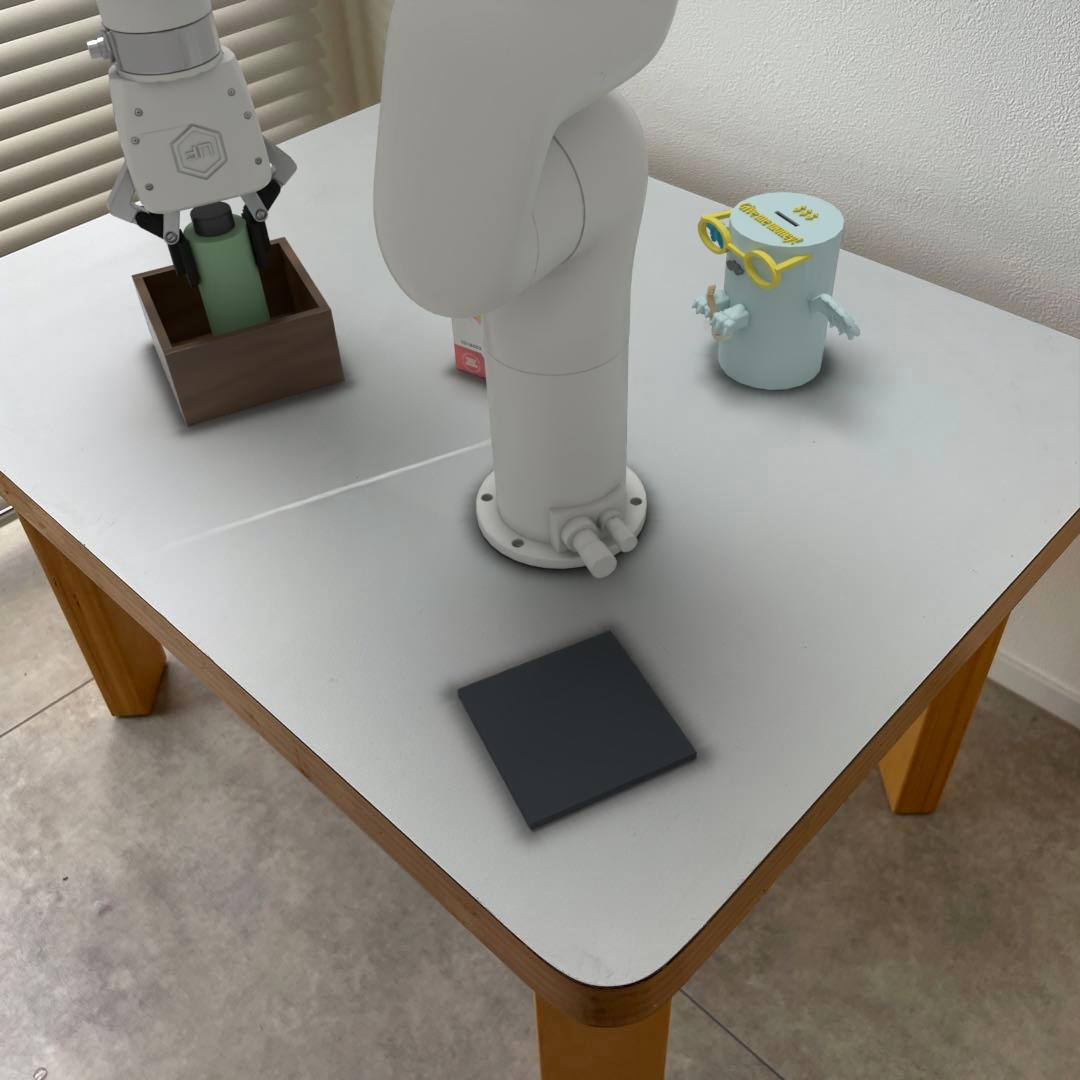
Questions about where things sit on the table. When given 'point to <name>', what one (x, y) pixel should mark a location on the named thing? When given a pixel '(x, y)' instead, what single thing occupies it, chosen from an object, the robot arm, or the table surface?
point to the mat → (574, 727)
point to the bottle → (226, 268)
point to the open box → (241, 340)
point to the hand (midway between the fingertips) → (225, 268)
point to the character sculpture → (775, 288)
